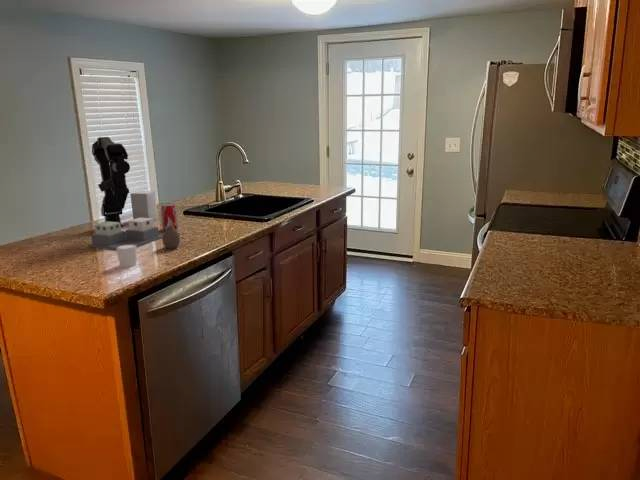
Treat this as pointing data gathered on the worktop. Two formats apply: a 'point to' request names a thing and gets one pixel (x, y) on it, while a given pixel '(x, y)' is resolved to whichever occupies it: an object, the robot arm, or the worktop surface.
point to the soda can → (169, 215)
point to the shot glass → (127, 255)
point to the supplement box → (144, 204)
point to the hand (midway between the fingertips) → (122, 208)
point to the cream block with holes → (141, 224)
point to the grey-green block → (107, 228)
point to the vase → (171, 238)
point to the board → (125, 238)
